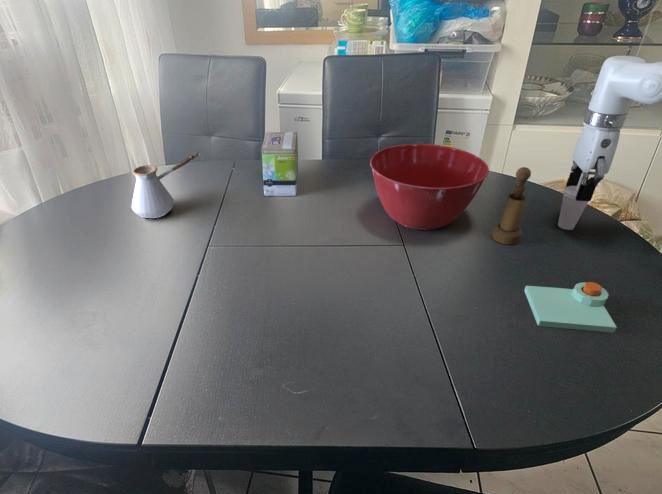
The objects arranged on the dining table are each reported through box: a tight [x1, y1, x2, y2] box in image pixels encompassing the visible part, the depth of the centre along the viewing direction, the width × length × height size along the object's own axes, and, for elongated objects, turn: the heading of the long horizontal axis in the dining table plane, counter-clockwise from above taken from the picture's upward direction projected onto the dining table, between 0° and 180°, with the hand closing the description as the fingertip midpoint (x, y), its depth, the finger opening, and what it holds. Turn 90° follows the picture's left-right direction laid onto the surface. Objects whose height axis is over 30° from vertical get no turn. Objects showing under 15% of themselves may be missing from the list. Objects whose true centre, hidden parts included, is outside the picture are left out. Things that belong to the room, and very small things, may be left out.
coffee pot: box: [131, 152, 203, 218], centre depth 123 cm, size 21×12×15 cm, turn 114°
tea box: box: [261, 131, 299, 197], centre depth 134 cm, size 15×10×15 cm, turn 178°
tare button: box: [583, 281, 603, 296], centre depth 86 cm, size 3×3×2 cm
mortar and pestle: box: [491, 166, 532, 246], centre depth 104 cm, size 7×6×18 cm
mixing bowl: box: [369, 143, 490, 231], centre depth 114 cm, size 28×28×16 cm
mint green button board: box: [523, 281, 618, 334], centre depth 86 cm, size 14×11×3 cm
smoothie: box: [557, 173, 593, 231], centre depth 109 cm, size 6×6×14 cm
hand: (577, 193), depth 108 cm, fingers closed on smoothie, 6 cm apart
